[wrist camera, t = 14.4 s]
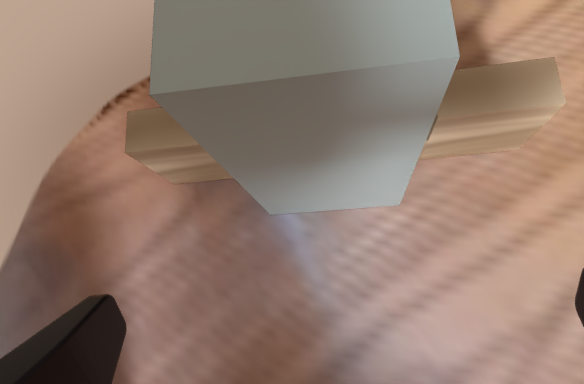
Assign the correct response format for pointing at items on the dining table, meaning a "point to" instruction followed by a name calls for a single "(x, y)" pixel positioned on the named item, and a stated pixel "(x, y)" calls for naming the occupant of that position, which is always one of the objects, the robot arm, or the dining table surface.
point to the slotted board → (440, 141)
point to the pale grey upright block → (306, 92)
